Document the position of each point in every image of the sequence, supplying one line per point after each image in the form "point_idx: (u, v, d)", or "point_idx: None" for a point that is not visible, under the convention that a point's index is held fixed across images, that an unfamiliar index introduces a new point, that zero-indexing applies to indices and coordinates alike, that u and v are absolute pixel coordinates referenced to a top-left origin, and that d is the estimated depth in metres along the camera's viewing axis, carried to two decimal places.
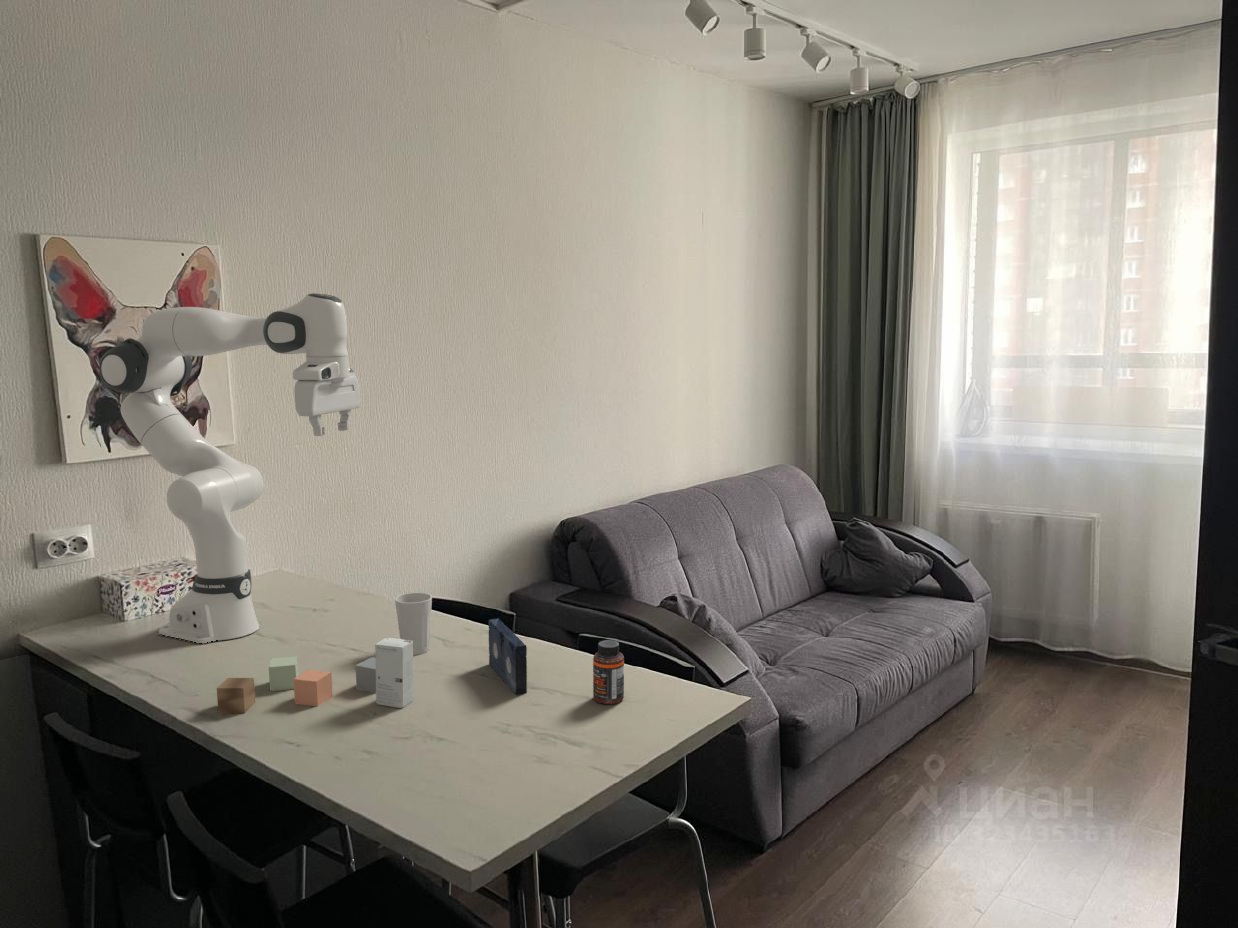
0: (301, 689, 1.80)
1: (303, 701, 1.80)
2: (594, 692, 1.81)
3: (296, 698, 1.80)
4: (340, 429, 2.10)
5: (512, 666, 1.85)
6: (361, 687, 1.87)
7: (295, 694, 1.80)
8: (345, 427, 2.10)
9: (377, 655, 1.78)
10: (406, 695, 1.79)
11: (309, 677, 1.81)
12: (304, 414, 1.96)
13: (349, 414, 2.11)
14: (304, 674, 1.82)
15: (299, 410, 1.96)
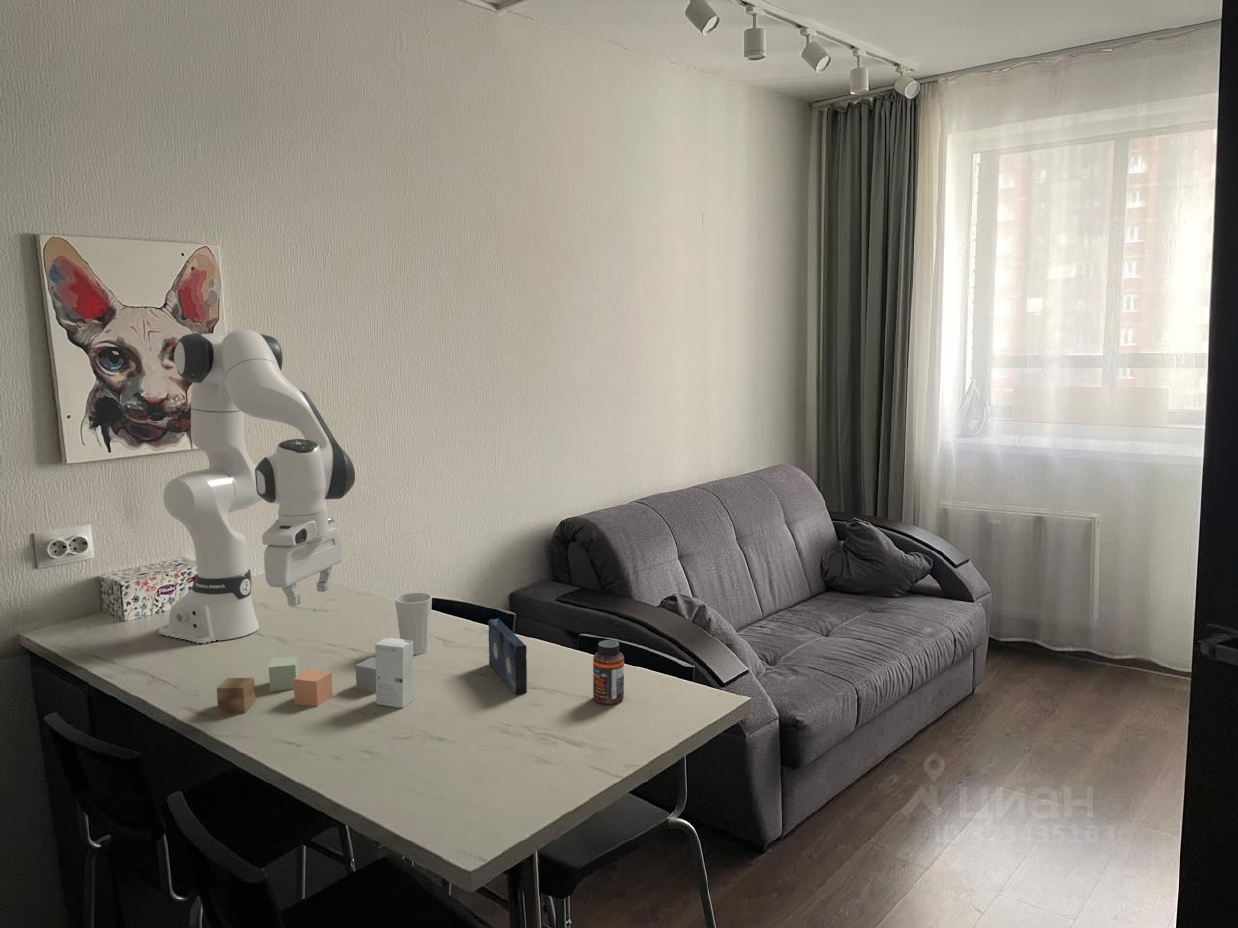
0: (301, 689, 1.80)
1: (303, 701, 1.80)
2: (594, 692, 1.81)
3: (296, 698, 1.80)
4: (319, 590, 1.83)
5: (512, 666, 1.85)
6: (361, 687, 1.87)
7: (295, 694, 1.80)
8: (325, 587, 1.83)
9: (377, 655, 1.78)
10: (406, 695, 1.79)
11: (309, 677, 1.81)
12: (276, 585, 1.69)
13: (330, 572, 1.84)
14: (304, 674, 1.82)
15: (270, 581, 1.69)
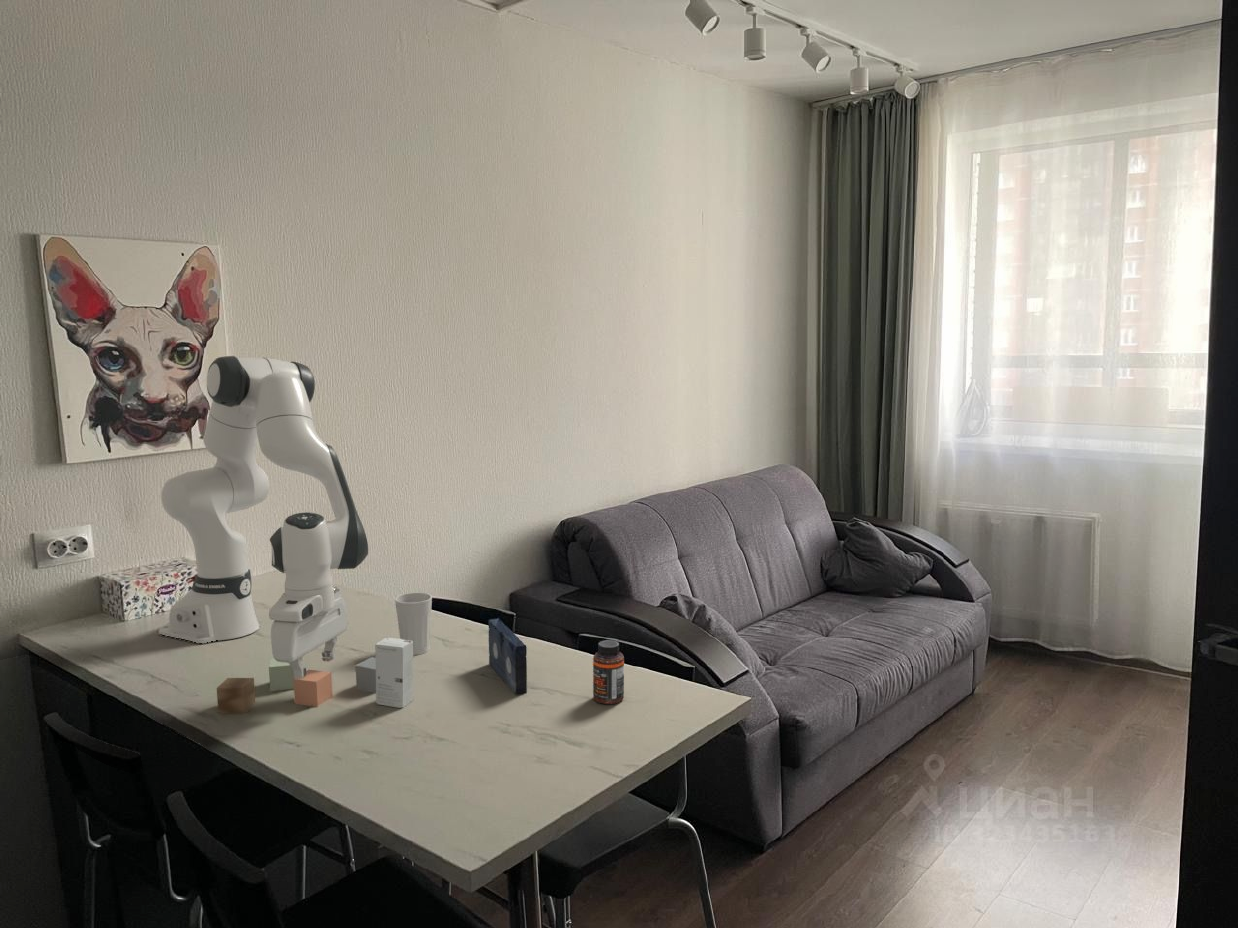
0: (301, 689, 1.80)
1: (303, 701, 1.80)
2: (594, 692, 1.81)
3: (296, 698, 1.80)
4: (325, 659, 1.85)
5: (512, 666, 1.85)
6: (361, 687, 1.87)
7: (295, 694, 1.80)
8: (330, 657, 1.85)
9: (377, 655, 1.78)
10: (406, 695, 1.79)
11: (309, 677, 1.81)
12: (282, 661, 1.71)
13: (335, 641, 1.86)
14: None
15: (276, 656, 1.71)
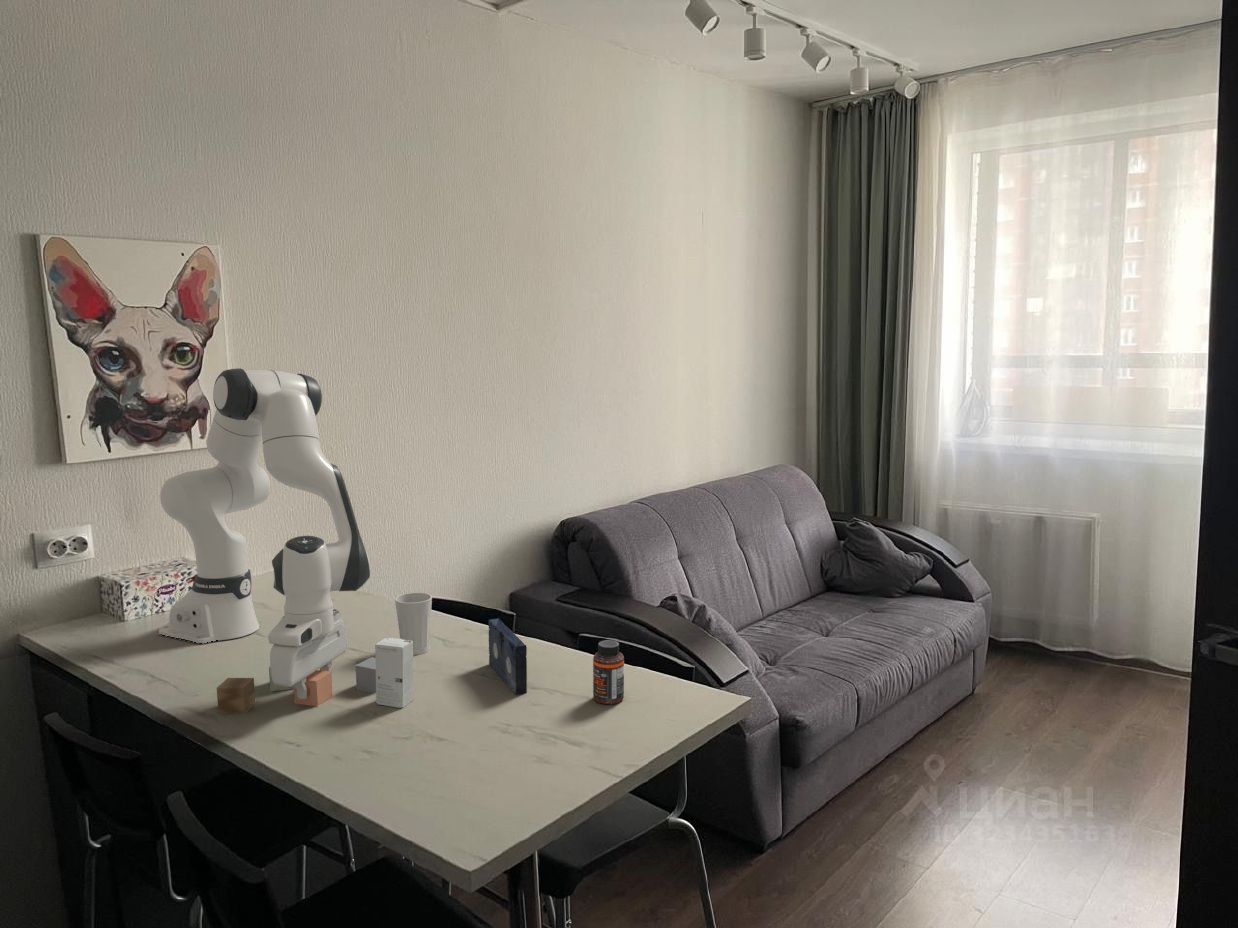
0: None
1: (303, 701, 1.80)
2: (594, 692, 1.81)
3: (296, 697, 1.80)
4: None
5: (512, 666, 1.85)
6: (361, 687, 1.87)
7: (295, 693, 1.80)
8: None
9: (377, 655, 1.78)
10: (406, 695, 1.79)
11: (309, 676, 1.81)
12: (281, 684, 1.72)
13: (329, 666, 1.85)
14: None
15: (275, 680, 1.72)
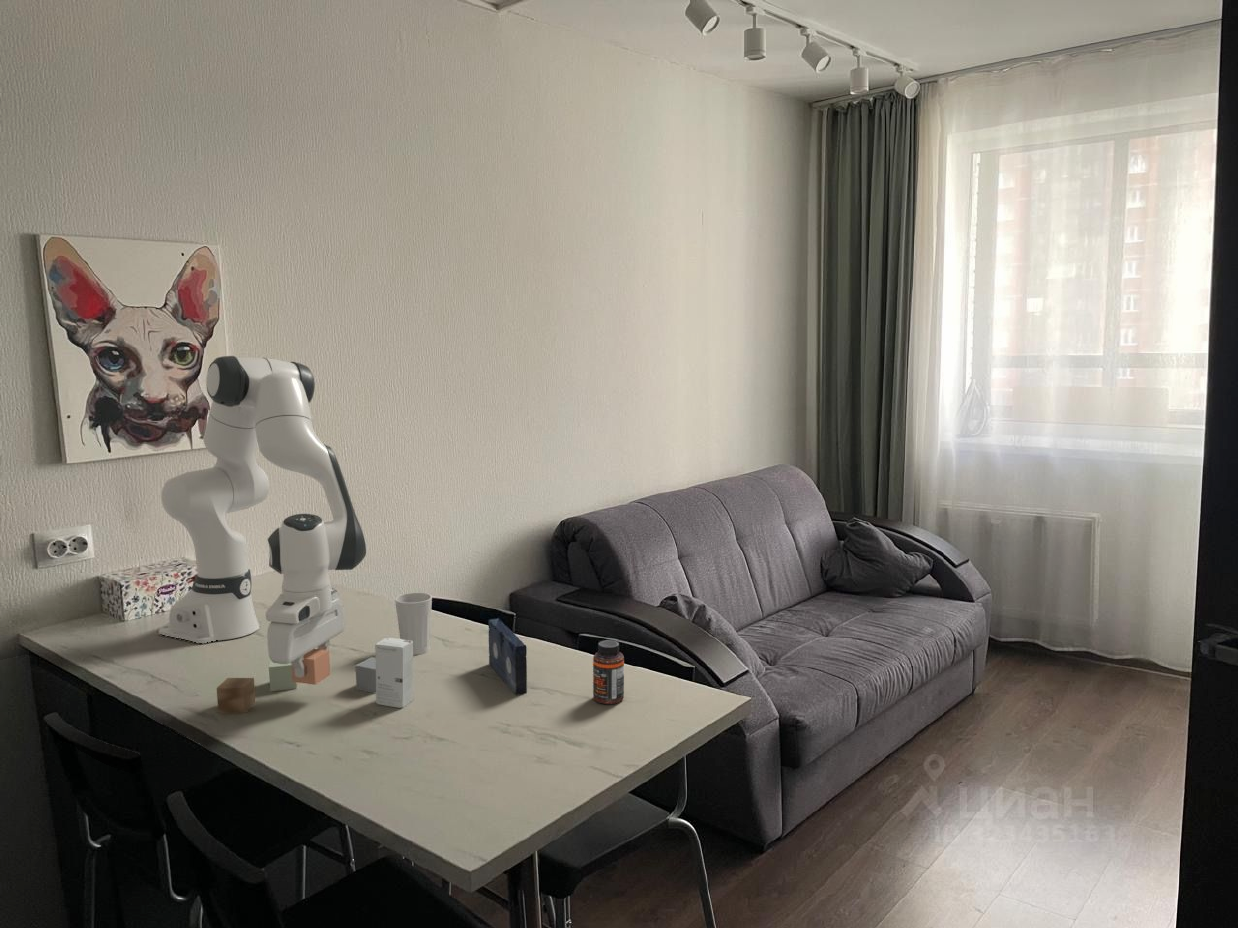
0: None
1: (300, 679, 1.79)
2: (594, 692, 1.81)
3: (293, 676, 1.80)
4: None
5: (512, 666, 1.85)
6: (361, 687, 1.87)
7: (292, 672, 1.80)
8: None
9: (377, 655, 1.78)
10: (406, 695, 1.79)
11: (307, 655, 1.80)
12: (278, 662, 1.71)
13: (327, 645, 1.85)
14: None
15: (273, 657, 1.71)
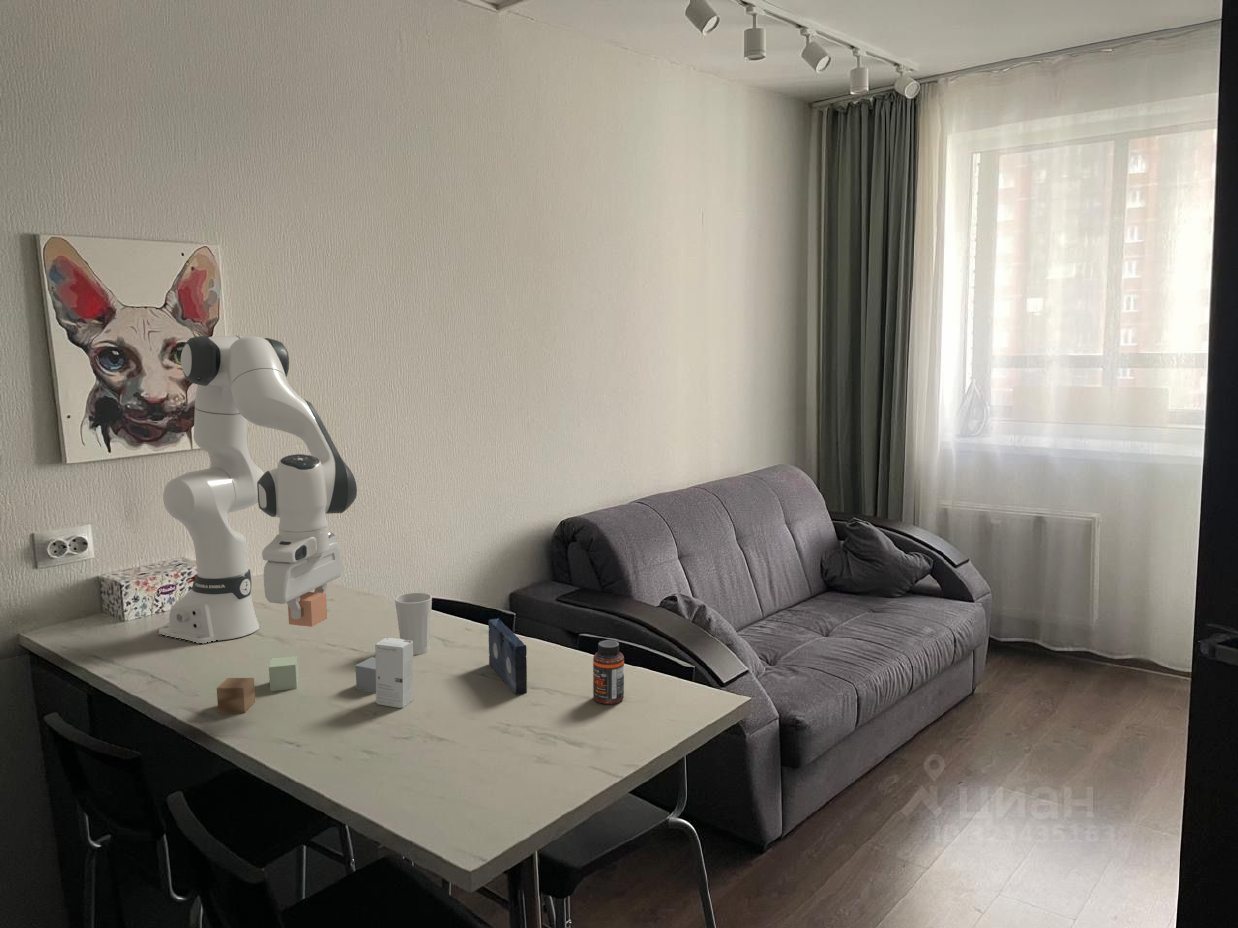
0: None
1: (297, 621, 1.78)
2: (594, 692, 1.81)
3: (290, 618, 1.78)
4: None
5: (512, 666, 1.85)
6: (361, 687, 1.87)
7: (289, 614, 1.78)
8: None
9: (377, 655, 1.78)
10: (406, 695, 1.79)
11: (304, 597, 1.78)
12: (275, 601, 1.69)
13: (324, 588, 1.83)
14: None
15: (269, 597, 1.69)
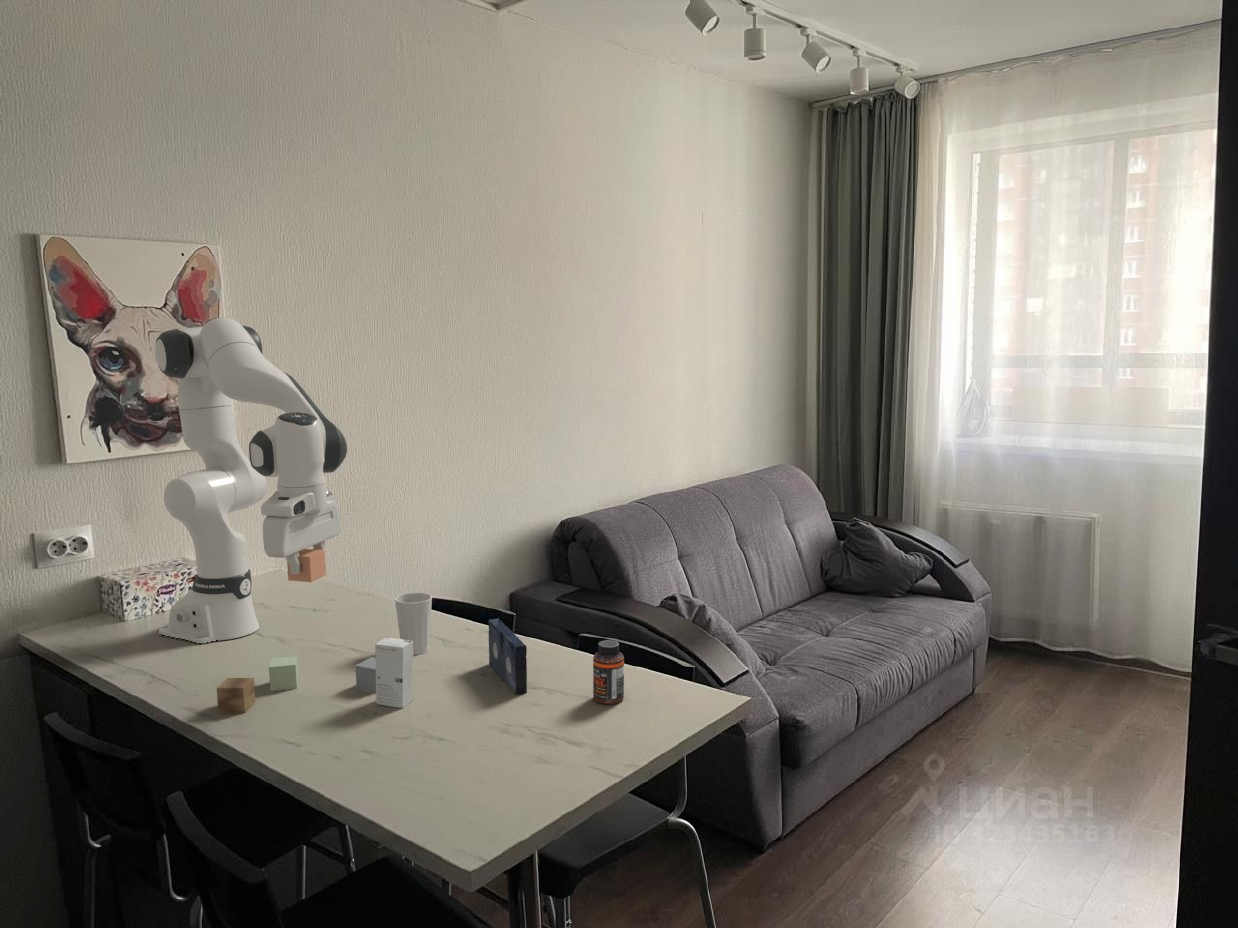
0: None
1: (296, 577, 1.80)
2: (594, 692, 1.81)
3: (289, 574, 1.80)
4: None
5: (512, 666, 1.85)
6: (361, 687, 1.87)
7: (288, 570, 1.80)
8: None
9: (377, 655, 1.78)
10: (406, 695, 1.79)
11: (303, 553, 1.80)
12: (274, 555, 1.72)
13: (323, 546, 1.85)
14: None
15: (268, 551, 1.72)
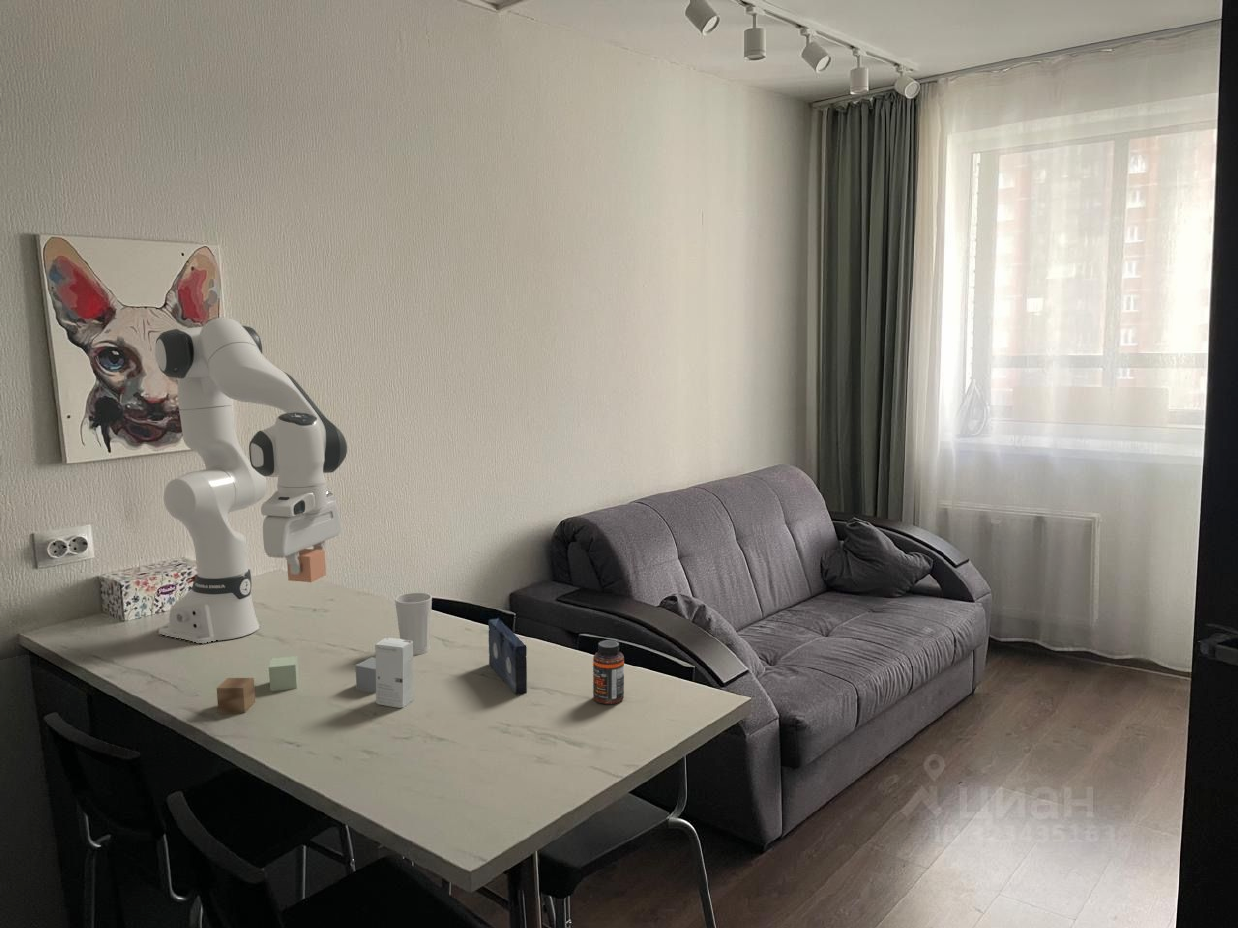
0: None
1: (296, 577, 1.80)
2: (594, 692, 1.81)
3: (289, 574, 1.80)
4: None
5: (512, 666, 1.85)
6: (361, 687, 1.87)
7: (288, 570, 1.80)
8: None
9: (377, 655, 1.78)
10: (406, 695, 1.79)
11: (303, 553, 1.80)
12: (274, 555, 1.72)
13: (323, 546, 1.85)
14: None
15: (268, 551, 1.72)
